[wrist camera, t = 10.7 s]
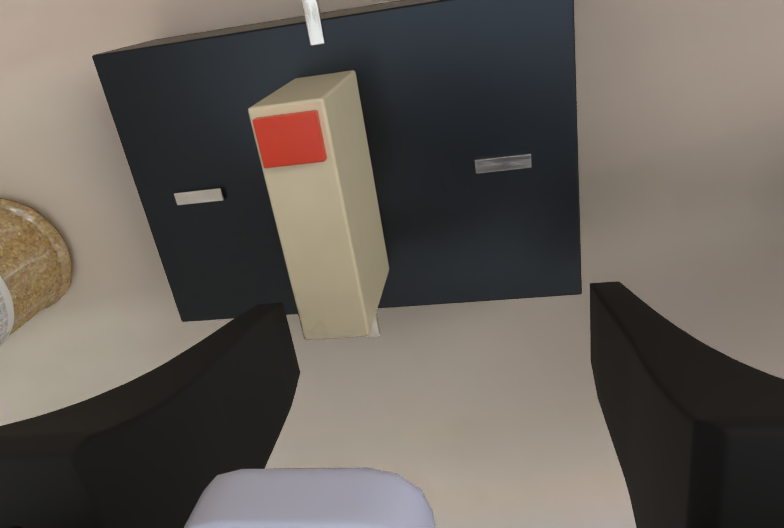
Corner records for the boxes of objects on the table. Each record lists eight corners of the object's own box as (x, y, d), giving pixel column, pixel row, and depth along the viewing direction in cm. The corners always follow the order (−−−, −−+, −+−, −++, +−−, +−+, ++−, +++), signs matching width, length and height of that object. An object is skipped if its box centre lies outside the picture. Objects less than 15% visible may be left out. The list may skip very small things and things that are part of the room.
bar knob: (389, 270, 18) (368, 342, 14) (335, 274, 18) (301, 346, 15) (355, 69, 15) (319, 100, 12) (293, 78, 16) (241, 110, 12)
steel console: (555, -60, 17) (572, -64, 13) (567, 266, 21) (583, 324, 17) (145, 9, 19) (75, 21, 16) (229, 292, 23) (187, 348, 20)
